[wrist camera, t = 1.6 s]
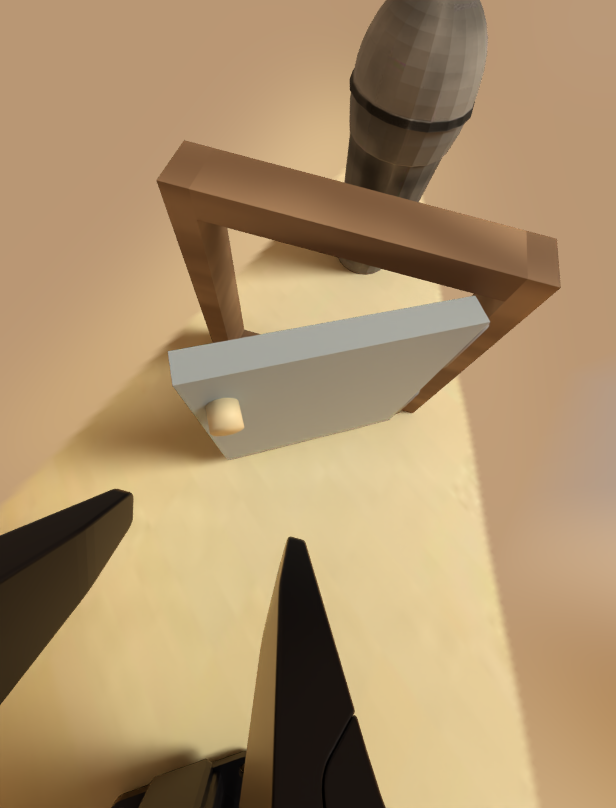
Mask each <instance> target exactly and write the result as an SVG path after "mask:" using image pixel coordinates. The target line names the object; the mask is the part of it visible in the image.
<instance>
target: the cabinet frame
mask: <svg viewBox="0 0 616 808" xmlns="http://www.w3.org/2000/svg"><path fill="white" fill-rule="evenodd" d="M157 183H158V186H159V189H160V192H161V195H162V198H163V201H164V203H165V206H166V209H167V212H168V215H169V218H170V221H171V223H172V226H173V229H174V232H175V235H176V238H177V241H178V243H179V246H180V249H181V252H182V255H183V258H184V261H185V264H186V267H187V269H188V272H189V275H190V278H191V281H192V284H193V287H194V290H195V292H196V295H197V298H198V301H199V304H200V307H201V310H202V313H203V316H204V318H205V321H206V324H207V327H208V330H209V333H210V336H211V339H212V341H213V343H217V342H222V341H228V340H233V339H239V338H244V337H250V336H255V335H261V334H257V333H254V332H250V331H246V330H244V326H243V320H242V314H241V308H240V302H239V296H238V290H237V284H236V278H235V272H234V266H233V260H232V254H231V248H230V242H229V236H228V231H227V228H231V229H234V230H238V231H242V232H245V233H249V234H253V235H257V236H260V237H265V238H268V239H272V240H275V241H279V242H283V243H287V244H290V245H294V246H298V247H302V248H305V249H309V250H313V251H317V252H320V253H324V254H328V255H332V256H335V257H339V258H343V259H347V260H350V261H354V262H358V263H362V264H365V265H369V266H373V267H377V268H380V269H384V270H388V271H392V272H395V273H399V274H403V275H407V276H410V277H414V278H418V279H422V280H425V281H429V282H433V283H437V284H440V285H444V286H448V287H452V288H455V289H459V290H463V291H467V292H471V293H474V294H473V295H472V296H476V298H477V299H478V301H479V303H480V305H481V306H482V308H483V310H484V312H485V314H486V315H487V317H488V319H489V321H490V323H489V327H488V328H487V329H486V330H485V331H484V332H483V333H482V334H481V335H480V336H479V337H478V338H477V339H476V340H475V341H474V342H473V343H472V344H471V345H470V346H468V347H467V348H466V349H465V350H464V351H463V352H462V353H461V354H460V355H459V356H458V357H457V358H456V359H455V360H454V361H453V362H452V363H451V364H449V365H448V366H447V367H446V368H442V369H441V370H440V371H439V372H438V373H437V374H436V375H435V376H434V377H433V378H432V379H431V380H430V381H429V382H428V383H427V384H426V385H425V386H423V387H422V388H421V389H420V392H419V394H418V395H417V396H416V397H415V398H414V399H413V400H412V401H410V402H409V403H408V404H407V405H406V406H405V407H404V408H403V409H402V410H404V411H407V412H411V413H413V412H415V411H416V410H417V409H418V408H419V407H421V406H422V405H423V404H424V403H425V402H426V401H428V400H429V399H430V398H431V397H432V396H434V395H435V394H436V393H437V392H438V391H439V390H441V389H442V388H443V387H444V386H445V385H446V384H448V383H449V382H450V381H451V380H452V379H454V378H455V377H456V376H457V375H458V374H459V373H461V371H463V370H464V369H465V368H466V367H468V366H469V365H470V364H471V363H472V362H474V361H475V360H476V359H477V358H478V357H479V356H481V355H482V354H483V353H484V352H485V351H487V350H488V349H489V348H490V347H491V346H493V345H494V344H495V343H496V342H497V341H498V340H500V339H501V338H502V337H503V336H504V335H505V334H507V333H508V332H509V331H510V330H511V329H513V328H514V327H515V326H516V325H517V324H518V323H520V322H521V321H522V320H523V319H524V318H526V317H527V316H528V315H529V314H530V313H531V312H532V311H534V310H535V309H536V308H537V307H539V306H540V305H541V304H542V303H543V302H544V301H546V300H547V299H548V298H549V297H550V296H551V295H553V294H554V293H555V292H556V291H557V290H559V289H560V288H561V286H560V273H559V261H558V248H557V239H555V238H551V237H548V236H544V235H540V234H536V233H532V232H529V231H525V230H521V229H517V228H513V227H510V226H506V225H502V224H498V223H495V222H491V221H487V220H483V219H479V218H476V217H472V216H468V215H464V214H461V213H456V212H453V211H449V210H445V209H442V208H438V207H434V206H430V205H427V204H423V203H419V202H415V201H412V200H408V199H404V198H400V197H396V196H393V195H389V194H385V193H381V192H377V191H374V190H370V189H366V188H362V187H359V186H355V185H351V184H347V183H343V182H340V181H336V180H332V179H328V178H325V177H321V176H317V175H313V174H309V173H306V172H302V171H298V170H294V169H291V168H287V167H283V166H279V165H275V164H272V163H268V162H264V161H260V160H256V159H253V158H249V157H245V156H241V155H237V154H234V153H230V152H226V151H222V150H219V149H215V148H211V147H207V146H204V145H199V144H196V143H192V142H188V141H183V143H182V144H181V146H180V147H179V148H178V150H177V151H176V153H175V154H174V156H173V157H172V158H171V160H170V161H169V163H168V165H167V166H166V167H165V169H164V170H163V172H162V173H161V174H160V176H159V177H158V179H157Z"/></svg>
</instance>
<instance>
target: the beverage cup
mask: <svg viewBox="0 0 616 808" xmlns="http://www.w3.org/2000/svg"><path fill="white" fill-rule="evenodd" d="M487 43H488V36H487V23H486V19H485V15H484V10H483V8H482V5H481V2H480V0H386V1H385V3H384V4H383V5H382V6H381V8H380V9H379V11H378V12H377V14H376V16H375V17H374V19H373V21H372V23H371V24H370V26H369V28H368V30H367V32H366V34H365V36H364V38H363V41H362V44H361V46H360V49H359V52H358V55H357V60H356V64H355V68H354V70H353V72H352V74H351V77H350V91H351V96H350V139H349V149H348V157H347V165H346V174H345V183H347V184H351V185H355V186H359V187H362V188H366V189H370V190H374V191H377V192H381V193H385V194H389V195H393V196H396V197H400V198H404V199H408V200H412V201H415V202H419V200H420V198H421V196H422V195H423V193H424V191H425V189H426V187H427V185H428V183H429V181H430V179H431V178H432V176H433V174H434V172H435V170H436V168H437V166H438V164H439V162H440V161H441V159H442V157H443V156H444V155H445V154H446V153H447V152H448V150H449V149H450V147H451V145H452V144H453V142H454V141H455V139H456V138H457V136H458V135H459V133H460V131H461V129H462V127H463V125H464V123H465V122H466V121H467V120H468V119H469V118H470V117H471V114H472V110H473V107H474V103H475V99H476V96H477V93H478V90H479V87H480V83H481V80H482V76H483V72H484V68H485V62H486V56H487ZM338 258H339V257H338ZM339 260H340V262H341V263H342V264H343V265H344V267H346V268H347V269H349V270H350V271H353V272H356V273H358V274H371V273H375V272H377V271H379V270H380V268H377V267H373V266H369V265H365V264H362V263H358V262H354V261H350V260H347V259H343V258H339Z"/></svg>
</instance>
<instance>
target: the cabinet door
mask: <svg viewBox="0 0 616 808" xmlns="http://www.w3.org/2000/svg"><path fill="white" fill-rule="evenodd" d="M489 323H490V321H489V319H488V317H487V315H486V314H485V312H484V310H483V308H482V306H481V305H480V303H479V301H478V299H477V298H476V296H470V297H465V298H460V299H454V300H449V301H443V302H437V303H432V304H426V305H421V306H415V307H410V308H404V309H399V310H393V311H388V312H382V313H377V314H371V315H366V316H360V317H355V318H349V319H343V320H338V321H332V322H327V323H321V324H316V325H310V326H305V327H299V328H294V329H288V330H283V331H277V332H272V333H266V334H261V335H255V336H250V337H244V338H239V339H233V340H228V341H222V342H217V343H211V344H205V345H200V346H194V347H189V348H183V349H178V350H172V351H168V357H169V364H170V371H171V378H172V385H173V387H174V388H175V390H176V391H177V392H178V394H179V395H180V397H181V398H182V399H183V401H184V402H185V403H186V405H187V406H188V407H189V409H190V410H191V411H192V413H193V414H194V416H195V417H196V418H197V420H198V421H199V422H200V424H201V425H202V426H203V428H204V429H205V430H206V432H207V433H208V434H209V436H210V437H211V439H212V440H213V441H214V443H215V444H216V445H217V447H218V448H219V449H220V451H221V452H222V453H223V455H224V456H225V458H226V459H227V460H231V459H235V458H239V457H243V456H247V455H251V454H255V453H259V452H263V451H267V450H271V449H275V448H279V447H283V446H287V445H291V444H295V443H299V442H303V441H307V440H311V439H315V438H319V437H323V436H327V435H331V434H335V433H339V432H343V431H347V430H351V429H355V428H359V427H363V426H367V425H371V424H375V423H379V422H383V421H387V420H389V419H390V418H391V417H392V416H393V415H395V414H397V413H399V412H400V411H401V410H402V409H403V408H404V407H405V406H406V405H407V404H408V403H409V402H410V401H412V400H413V399H414V398H415V397H416V396H417V395H418V394H419V392H420V389H421V388H422V387H423V386H425V385H426V384H427V383H428V382H429V381H430V380H431V379H432V378H433V377H434V376H435V375H436V374H437V373H438V372H439V371H440V370H441V369H442V368H446V367H447V366H448V365H449V364H451V363H452V362H453V361H454V360H455V359H456V358H457V357H458V356H459V355H460V354H461V353H462V352H463V351H464V350H465V349H466V348H467V347H468V346H470V345H471V344H472V343H473V342H474V341H475V340H476V339H477V338H478V337H479V336H480V335H481V334H482V333H483V332H484V331H485V330H486V329H487V328H488V327H489Z"/></svg>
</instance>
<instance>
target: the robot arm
mask: <svg viewBox="0 0 616 808" xmlns="http://www.w3.org/2000/svg"><path fill="white" fill-rule="evenodd" d="M132 520H133V494H132V493H130V492H127V491H124V490H120V489H113V490H110V491H108V492H105V493H103V494H100V495H98V496H95V497H93V498H91V499H88V500H86V501H83V502H81V503H78V504H76V505H73V506H71V507H69V508H66V509H64V510H61V511H59V512H56V513H54V514H52V515H49V516H47V517H44V518H42V519H39V520H37V521H35V522H32V523H30V524H27V525H25V526H22V527H20V528H17V529H15V530H13V531H10V532H8V533H5V534H3V535H0V705H1V703H2V702H3V701H4V699H5V698H6V697H7V696H8V694H9V693H10V692H11V690H12V689H13V688H14V687H15V685H16V684H17V683H18V681H19V680H20V679H21V678H22V676H23V675H24V674H25V672H26V671H27V670H28V669H29V667H30V666H31V665H32V663H33V662H34V661H35V660H36V658H37V657H38V656H39V654H40V653H41V652H42V651H43V649H44V648H45V647H46V645H47V644H48V643H49V642H50V640H51V639H52V638H53V636H54V635H55V634H56V633H57V631H58V630H59V629H60V627H61V626H62V625H63V624H64V622H65V621H66V620H67V618H68V617H69V616H70V615H71V613H72V612H73V611H74V610H75V608H76V607H77V606H78V604H79V603H80V602H81V600H82V599H83V598H84V596H85V595H86V594H87V592H88V591H89V590H90V588H91V587H92V585H93V584H94V582H95V581H96V579H97V578H98V576H99V575H100V573H101V571H102V570H103V568H104V567H105V565H106V564H107V562H108V561H109V559H110V557H111V556H112V554H113V553H114V551H115V550H116V548H117V546H118V545H119V543H120V542H121V540H122V539H123V537H124V536H125V534H126V532H127V531H128V529H129V528H130V526H131V523H132ZM354 712H355V710H354V706H353V703H352V699H351V696H350V693H349V689H348V686H347V682H346V679H345V676H344V672H343V669H342V665H341V662H340V658H339V655H338V652H337V648H336V645H335V641H334V638H333V635H332V631H331V628H330V624H329V621H328V618H327V614H326V611H325V607H324V604H323V601H322V597H321V594H320V590H319V587H318V584H317V580H316V577H315V573H314V570H313V567H312V563H311V560H310V556H309V553H308V549H307V546H306V543H305V541H304V540H301V539H298V538H294V537H289V538H288V539H287V542H286V545H285V549H284V552H283V555H282V559H281V562H280V566H279V570H278V574H277V578H276V582H275V586H274V591H273V595H272V599H271V603H270V607H269V611H268V615H267V619H266V624H265V628H264V633H263V637H262V643H261V649H260V656H259V663H258V671H257V678H256V686H255V693H254V700H253V708H252V715H251V722H250V730H249V737H248V744H247V751H244V752H241V753H238V754H235V755H232V756H229V757H226V758H224V759H221V760H218V761H215V762H211V761H209V760H207V759H205V760H202V761H199V762H197V763H194V764H191V765H188V766H185V767H182V768H179V769H177V770H174V771H171V772H168V773H165V774H162V775H159V776H157V777H155V778H154V779H153V780H152V782H151V783H150V785H147V786H144V787H141V788H139V789H136V790H133V791H130V792H127V793H124V794H123V795H121V796H119V797H118V799H117V800H116V801H115V803H114V804H113V806H112V808H386V807H385V805H384V802H383V799H382V796H381V794H380V790H379V787H378V784H377V781H376V778H375V775H374V772H373V768H372V765H371V762H370V759H369V756H368V753H367V750H366V746H365V743H364V740H363V736H362V733H361V729H360V726H359V723H358V719H357V717H356V716H355V715H354V716H353V714H354ZM242 764H245V767H244V772H243V771H242V770H241V769H240V766H241V765H242Z"/></svg>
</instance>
